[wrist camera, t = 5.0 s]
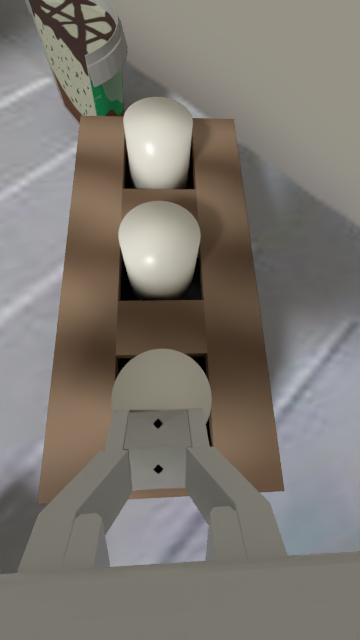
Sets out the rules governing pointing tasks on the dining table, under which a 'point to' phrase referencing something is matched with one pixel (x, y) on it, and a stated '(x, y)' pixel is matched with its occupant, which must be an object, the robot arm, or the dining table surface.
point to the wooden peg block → (158, 309)
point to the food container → (83, 53)
